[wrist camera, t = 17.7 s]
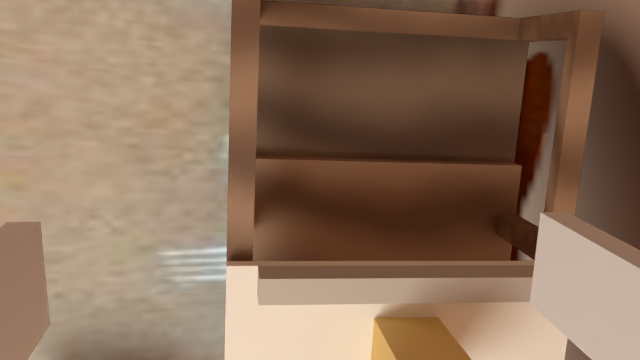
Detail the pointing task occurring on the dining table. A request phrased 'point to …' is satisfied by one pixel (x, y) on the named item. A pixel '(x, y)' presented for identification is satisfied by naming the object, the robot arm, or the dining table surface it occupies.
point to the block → (414, 340)
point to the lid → (382, 308)
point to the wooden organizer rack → (392, 131)
